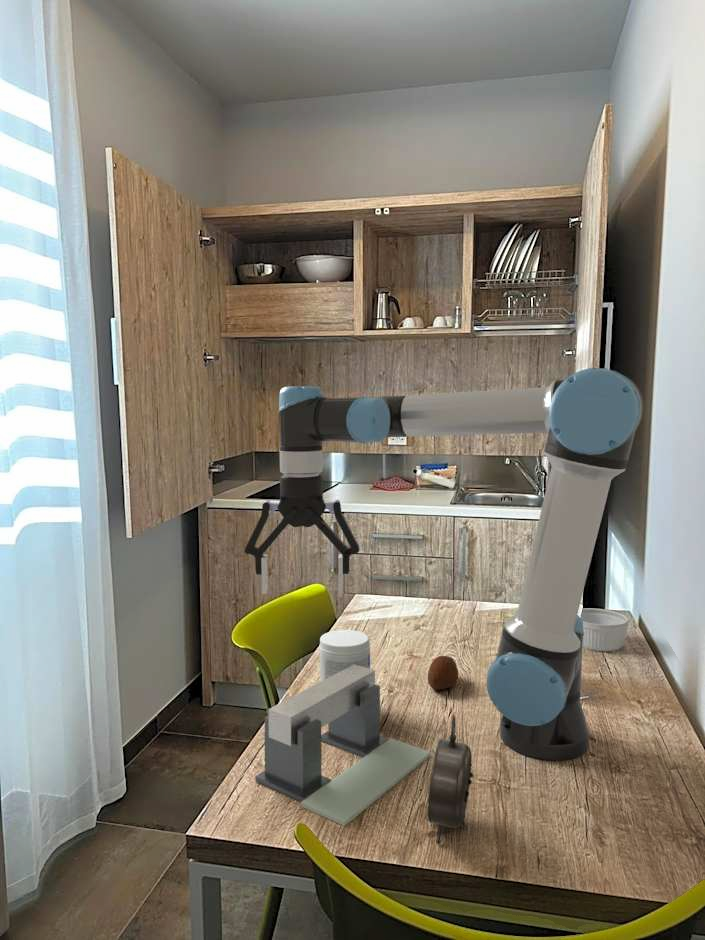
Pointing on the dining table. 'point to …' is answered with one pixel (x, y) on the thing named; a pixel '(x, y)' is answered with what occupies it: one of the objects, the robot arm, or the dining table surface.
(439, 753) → the alarm clock
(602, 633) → the ramekin
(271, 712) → the rail
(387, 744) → the mat
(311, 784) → the post left
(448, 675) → the potato
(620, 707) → the dining table surface
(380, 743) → the post right
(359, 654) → the supplement tub
